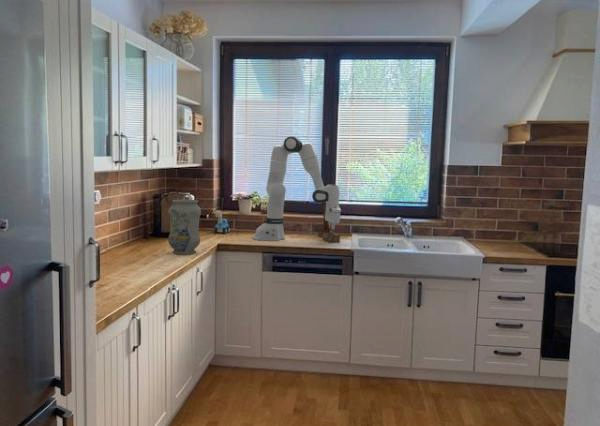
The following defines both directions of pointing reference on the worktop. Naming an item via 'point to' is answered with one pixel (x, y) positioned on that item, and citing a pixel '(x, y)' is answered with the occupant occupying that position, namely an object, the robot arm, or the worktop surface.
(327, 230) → the sculpture
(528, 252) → the worktop surface
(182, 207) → the vase
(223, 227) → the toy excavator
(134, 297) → the worktop surface
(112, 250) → the worktop surface
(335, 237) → the walnut seat board
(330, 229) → the beech peg
